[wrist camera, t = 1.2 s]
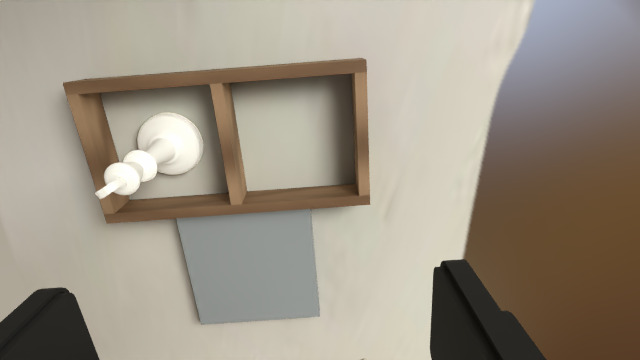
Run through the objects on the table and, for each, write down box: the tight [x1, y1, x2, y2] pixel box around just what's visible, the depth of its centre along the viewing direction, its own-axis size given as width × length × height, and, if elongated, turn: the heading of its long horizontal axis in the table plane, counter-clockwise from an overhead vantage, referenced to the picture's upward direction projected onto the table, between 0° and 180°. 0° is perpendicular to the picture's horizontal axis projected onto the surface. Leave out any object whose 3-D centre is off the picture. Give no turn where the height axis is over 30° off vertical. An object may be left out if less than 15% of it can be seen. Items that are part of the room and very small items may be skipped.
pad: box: [176, 209, 320, 325], centre depth 32 cm, size 11×11×1 cm
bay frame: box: [63, 58, 370, 223], centre depth 27 cm, size 11×20×2 cm, turn 94°
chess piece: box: [95, 112, 203, 199], centre depth 24 cm, size 5×5×10 cm
